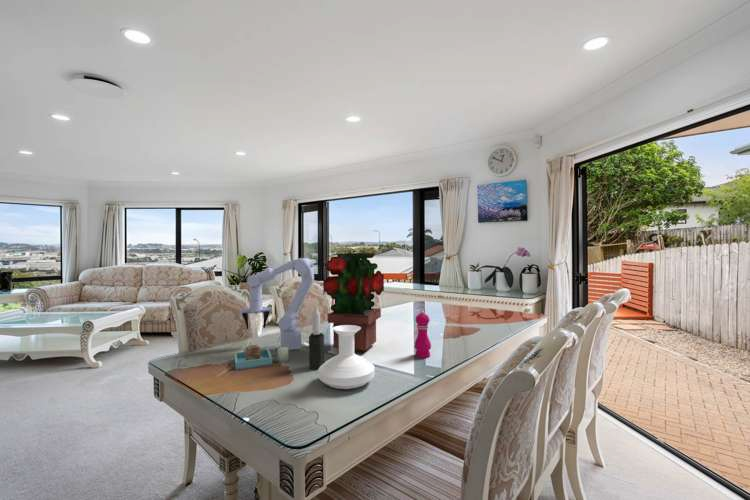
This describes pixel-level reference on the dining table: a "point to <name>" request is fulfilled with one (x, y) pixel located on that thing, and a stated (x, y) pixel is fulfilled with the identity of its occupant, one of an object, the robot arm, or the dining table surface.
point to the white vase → (346, 363)
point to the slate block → (271, 350)
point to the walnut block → (252, 352)
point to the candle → (316, 343)
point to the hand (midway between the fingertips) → (256, 327)
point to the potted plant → (354, 296)
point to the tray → (243, 364)
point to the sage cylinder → (283, 354)
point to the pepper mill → (422, 336)
